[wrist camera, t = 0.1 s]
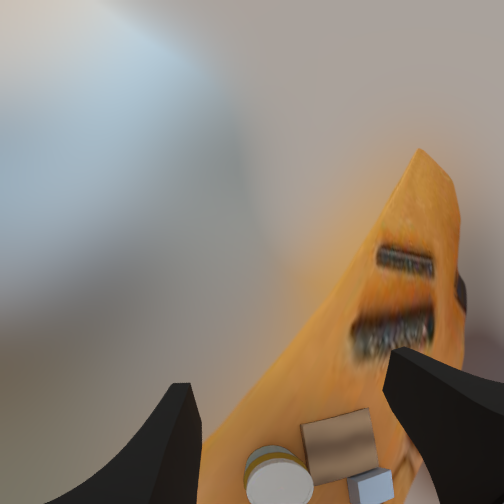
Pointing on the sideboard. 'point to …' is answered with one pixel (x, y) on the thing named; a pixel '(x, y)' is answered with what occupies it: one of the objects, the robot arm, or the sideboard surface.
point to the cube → (371, 486)
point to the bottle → (277, 477)
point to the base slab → (339, 446)
